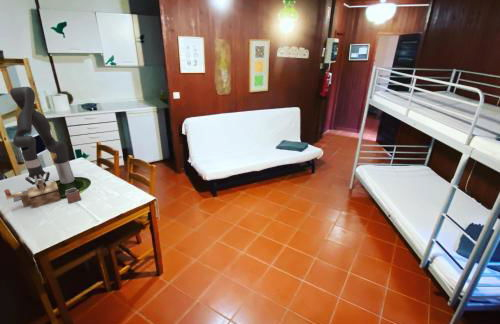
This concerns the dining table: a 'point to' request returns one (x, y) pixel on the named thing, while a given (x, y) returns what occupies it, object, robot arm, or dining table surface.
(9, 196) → the wooden block with peg
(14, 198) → the mat
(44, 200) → the toolbox
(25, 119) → the robot arm
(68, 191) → the lighter
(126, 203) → the dining table surface
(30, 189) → the lid
